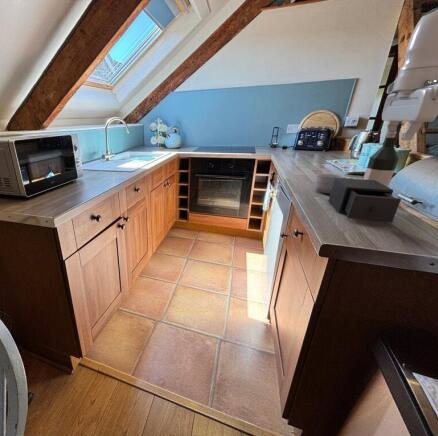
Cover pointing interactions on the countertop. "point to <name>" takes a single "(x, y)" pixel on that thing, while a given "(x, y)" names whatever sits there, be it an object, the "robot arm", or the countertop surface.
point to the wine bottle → (383, 161)
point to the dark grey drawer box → (344, 185)
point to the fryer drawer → (371, 205)
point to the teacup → (326, 182)
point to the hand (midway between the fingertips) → (397, 138)
